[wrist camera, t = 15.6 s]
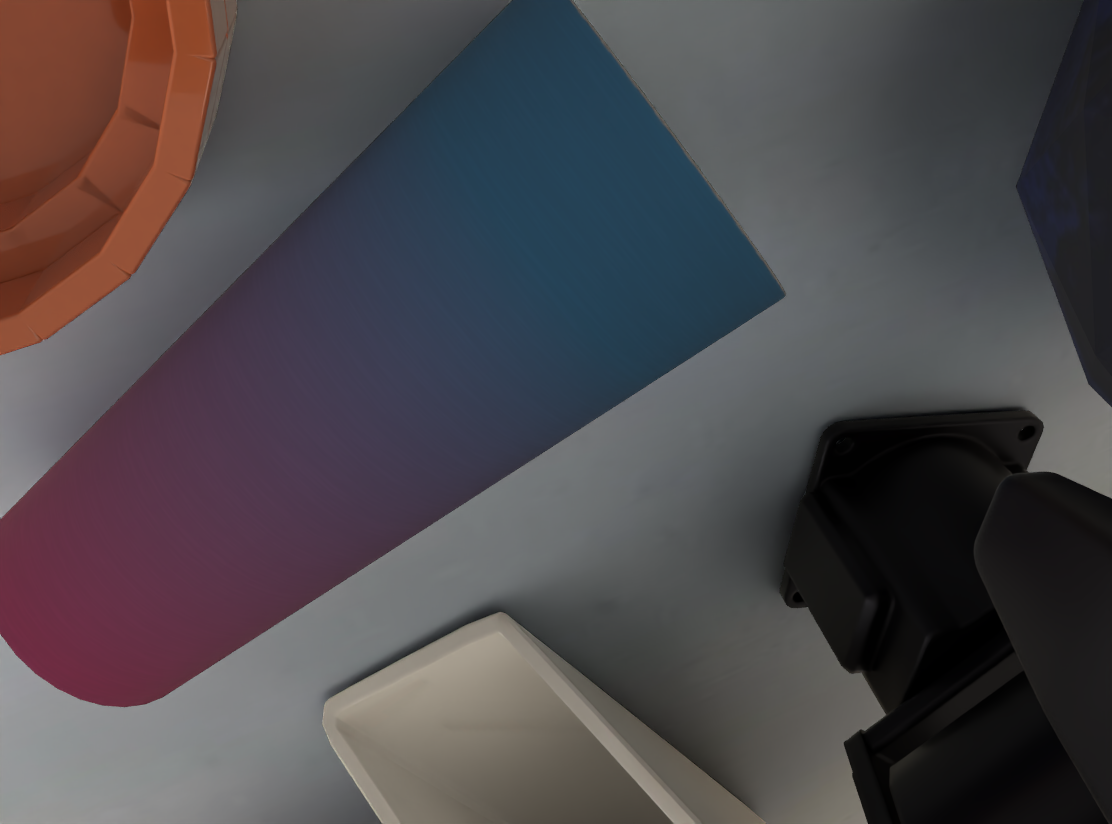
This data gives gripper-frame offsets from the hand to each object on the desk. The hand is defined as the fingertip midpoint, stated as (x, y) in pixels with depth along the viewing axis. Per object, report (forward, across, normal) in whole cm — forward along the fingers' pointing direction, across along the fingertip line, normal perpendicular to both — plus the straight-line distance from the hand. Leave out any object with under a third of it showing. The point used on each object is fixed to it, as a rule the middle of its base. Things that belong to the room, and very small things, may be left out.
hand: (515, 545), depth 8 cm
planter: (+13, -8, +22) cm, 27 cm away
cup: (+10, +7, +10) cm, 16 cm away
